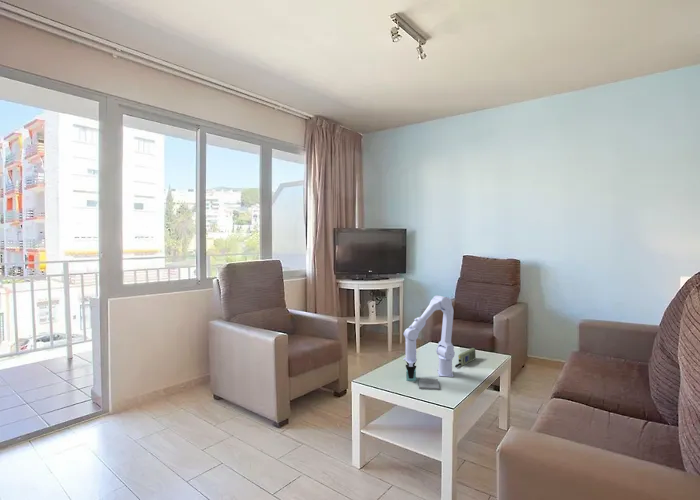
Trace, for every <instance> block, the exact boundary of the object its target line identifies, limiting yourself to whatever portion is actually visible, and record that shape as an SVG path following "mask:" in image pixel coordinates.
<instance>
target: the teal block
mask: <svg viewBox="0 0 700 500" xmlns="http://www.w3.org/2000/svg"><path fill="white" fill-rule="evenodd" d="M405 370H406V371H405V372H406V373H405V374H406V377H405V378H406V381H408V382H416V381H417V371H416V370H417V368H416V369H415V371H414V376H413V379H411V378H409V376H408V371H407V368H406V369H405Z"/></svg>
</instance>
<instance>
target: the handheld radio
mask: <svg viewBox="0 0 700 500" xmlns="http://www.w3.org/2000/svg"><path fill="white" fill-rule="evenodd" d="M475 358H476V348H474V347H471V348H469V349H468V350H465V351H463V352H462V353H458V363H457V364H455V365H454V367H455V368H457V367H460V365H461V367H463V366H465V365H467V364H468V363H470V362H472V361H474V360H475ZM473 359H474V360H473ZM466 363H467V364H466Z"/></svg>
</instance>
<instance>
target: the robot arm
mask: <svg viewBox="0 0 700 500" xmlns="http://www.w3.org/2000/svg"><path fill="white" fill-rule="evenodd" d="M435 311H441V312H442V313H443V315H442V324H441V325H442V326H441V336H440V341H438V344H437V347H436V349H435V352H436V354H437V355H438V369H437V375H438V377H447V378H448V377H450V378H451V377H453V378H454V373H453V359H454V358H455V350H454V349H455V348H454V347H455V346H454V345H453V342H452V337H453V336H452V334H453V324H454V312H455V311H454V307H453V300H451V299H450V297H447V296H443V295H442V296H441V295H439V294H436V295H434V296H433V297H432V299H430V302H429V304H428V306H427V307H426V309H425V310H424V311H423V313H422V314H421V316H418V317H415V318H414V319H413V320H414V321H412V323H411V324H410V325H409V326H408V328H407V327H406V329H405V330H404V331H403V336H404V338H405V339H404V340H405V357H403V359H402V360H403V361H405V362H406V364H405V368H406V369H407V371H408V376H409V378H411V379H413V376H414V371H415V369H416V370H417V365H416V362H417V360H418V359H417V339H418V338H419V334H420V332H421V331H422V330H423V329H424V327H425V326H426V323H427V322H426V321H427V320H428V319H429V318H430V317H431V316H432V315H433V314H434V313H435Z"/></svg>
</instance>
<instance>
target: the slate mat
mask: <svg viewBox="0 0 700 500" xmlns="http://www.w3.org/2000/svg"><path fill="white" fill-rule="evenodd" d="M418 389H419V390H435V391H439V390H440V385H439V379H437V378H418Z"/></svg>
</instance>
